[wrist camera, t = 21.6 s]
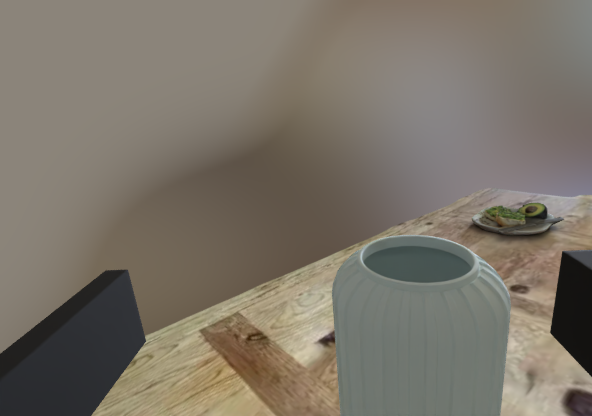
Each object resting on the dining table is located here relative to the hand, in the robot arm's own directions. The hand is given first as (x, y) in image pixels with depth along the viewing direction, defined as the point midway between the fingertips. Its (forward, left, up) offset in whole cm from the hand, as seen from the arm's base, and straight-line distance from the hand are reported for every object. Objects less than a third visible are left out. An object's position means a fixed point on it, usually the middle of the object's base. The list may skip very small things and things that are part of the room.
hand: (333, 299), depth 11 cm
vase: (+12, +7, -27) cm, 30 cm away
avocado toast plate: (+82, +38, -29) cm, 95 cm away
